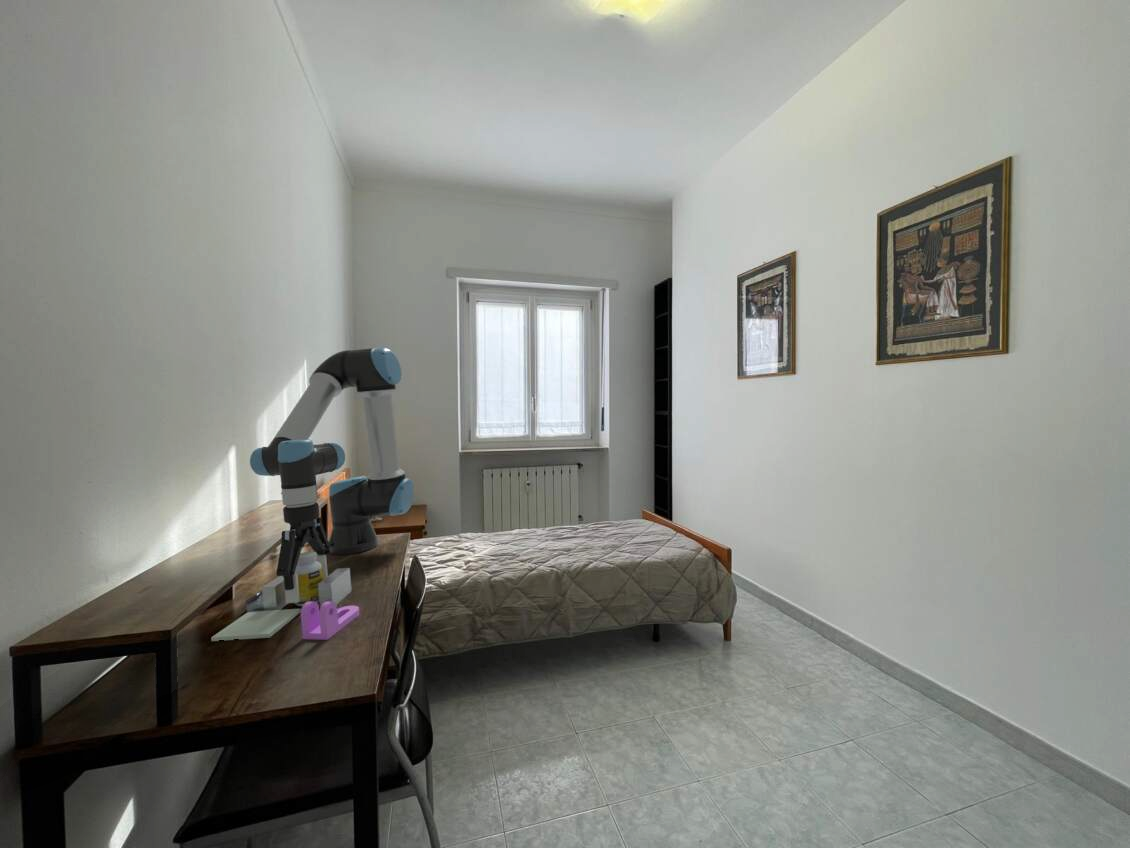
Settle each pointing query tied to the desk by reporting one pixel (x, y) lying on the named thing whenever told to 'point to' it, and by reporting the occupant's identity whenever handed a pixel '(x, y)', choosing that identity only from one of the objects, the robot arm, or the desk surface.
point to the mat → (257, 625)
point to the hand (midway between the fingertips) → (308, 590)
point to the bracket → (325, 619)
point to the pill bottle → (308, 577)
